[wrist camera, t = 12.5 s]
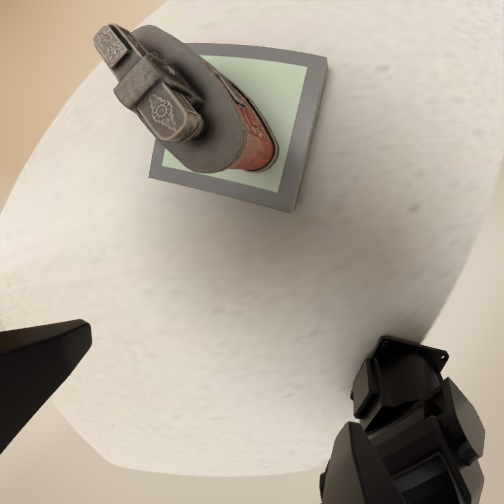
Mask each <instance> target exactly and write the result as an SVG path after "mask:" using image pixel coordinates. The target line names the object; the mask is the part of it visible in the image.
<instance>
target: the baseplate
mask: <svg viewBox="0 0 504 504" xmlns="http://www.w3.org/2000/svg"><path fill="white" fill-rule="evenodd" d="M184 44H185V45H186V46H188V47H189V48H190V49H191V50H192V51H193V52H194V53H196V54H197V55H199V56H201V57H202V58H203V59H205V60H206V61H207V62H209V63H210V64H211V65H212V66H213V67H214V68H215V69H216V70H217V71H219V72H220V73H222V74H223V75H224V76H226V77H227V78H229V79H230V80H231V81H232V82H234V83H235V84H236V85H237V86H238V87H239V88H240V89H241V90H242V91H243V92H244V93H245V94H246V95H247V96H248V97H249V98H250V99H251V100H252V101H253V102H254V104H255V105H256V106H257V108H258V109H259V111H260V112H261V113H262V115H263V116H264V118H265V119H266V120H267V122H268V124H269V126H270V128H271V130H272V132H273V134H274V136H275V138H276V140H277V142H278V144H279V148H280V151H279V157H278V159H277V161H276V163H275V164H274V165H273V166H272V167H271V168H269V169H268V170H266V171H264V172H259V173H249V172H245V171H243V170H241V169H226V170H224V171H221V172H217V173H210V174H204V173H196V172H193V171H191V170H190V169H188V168H186V167H185V166H184V165H183V164H182V163H181V162H180V161H179V160H178V159H177V158H175V157H174V156H173V155H172V154H171V153H170V152H169V151H168V150H167V149H166V148H165V147H164V146H163V145H161V144H160V143H159V141H158V140H157V139H156V140H155V145H154V150H153V155H152V161H151V166H150V172H149V178H153V179H157V180H162V181H166V182H170V183H175V184H179V185H183V186H187V187H192V188H196V189H200V190H204V191H208V192H212V193H216V194H220V195H224V196H228V197H232V198H236V199H240V200H243V201H247V202H251V203H255V204H258V205H262V206H266V207H270V208H273V209H277V210H280V211H284V212H288V213H291V212H292V211H293V210H294V208H295V204H296V200H297V196H298V192H299V188H300V184H301V180H302V176H303V172H304V168H305V164H306V160H307V156H308V152H309V148H310V144H311V140H312V135H313V131H314V127H315V123H316V118H317V114H318V110H319V105H320V101H321V96H322V92H323V88H324V83H325V78H326V74H327V69H328V65H327V57H323V56H318V55H313V54H307V53H302V52H296V51H289V50H283V49H275V48H267V47H258V46H248V45H234V44H213V43H184Z"/></svg>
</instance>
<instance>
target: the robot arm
mask: <svg viewBox="0 0 504 504" xmlns="http://www.w3.org/2000/svg"><path fill="white" fill-rule="evenodd" d="M385 341H387V343H386V344H382V343H383V342H385ZM91 345H92V334H91V326H90V324H89V323H88V322H86V321H84V320H82V319H77V320H71V321H66V322H60V323H54V324H48V325H41V326H35V327H29V328H22V329H16V330H9V331H2V332H0V454H1V453H2V452H3V451H4V449H5V448H6V447H7V446H8V445H9V443H10V442H11V441H12V440H13V438H14V437H15V436H16V435H17V434H18V433H19V432H20V430H21V429H22V428H23V427H24V426H25V425H26V423H27V422H28V421H29V420H30V419H31V418H32V417H33V415H34V414H35V413H36V412H37V411H38V410H39V409H40V408H41V406H42V405H43V404H44V403H45V402H46V401H47V400H48V399H49V397H50V396H51V395H52V394H53V393H54V392H55V391H56V390H57V389H58V388H59V386H60V385H61V384H62V383H63V382H64V381H65V380H66V379H67V378H68V376H69V375H70V374H71V373H72V371H73V370H74V369H75V367H76V366H77V365H78V363H79V362H80V361H81V359H82V358H83V357H84V355H85V354H86V353H87V351H88V350H89V349H90V347H91ZM442 356H444V358H441V357H442ZM448 358H449V355H448V353H447V352H446V351H444V350H440V349H436V348H432V347H428V346H424V345H420V344H416V343H412V342H409V341H405V340H401V339H397V338H394V337H390V336H382V337H381V338H380V339H379V341H378V343H377V345H376V347H375V349H374V351H373V353H372V355H371V356H370V358H367V359H366V360H365V361H364V363H363V365H362V367H361V369H360V371H359V373H358V375H357V376H356V378H355V380H354V382H353V389H352V391H351V393H350V398H351V399H352V400H353V401H354V417H355V418H356V419H360V424H359V423H356V422H351V421H349V422H347V423H346V424H345V425H344V427H343V428H342V429H341V431H340V432H339V434H338V435H337V437H336V439H335V442H334V446H333V450H332V455H331V458H330V459H329V462H328V465H327V467H326V470H325V472H324V473H322V474H321V475H320V484H319V489H320V495H321V500H322V503H321V504H479V500H480V496H481V492H482V488H483V484H484V476H483V473H482V471H481V468H480V465H479V463H478V460H477V459H479V458H480V457H482V455H483V449H484V439H485V429H484V427H483V425H482V422H481V420H480V419H479V416H478V414H477V412H476V410H475V408H474V407H473V405H472V404H471V403H470V402H469V401H468V399H467V398H466V397H465V396H464V395H463V393H462V392H461V391H460V390H459V389H458V387H457V386H456V385H455V384H454V383H453V381H452V380H451V379H450V378H449V377H447V378H446V379H445V380H443V378H442V376H441V373H440V372H441V371H442V369H443V367H444V365H445V364H446V362H447V361H448Z"/></svg>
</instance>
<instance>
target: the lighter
mask: <svg viewBox="0 0 504 504" xmlns="http://www.w3.org/2000/svg"><path fill="white" fill-rule="evenodd" d="M93 41H94V46H95V48H96V50H97V51H98V53H99V54H100V55H101V57H102V59H103V60H104V61H105V63H106V64H107V66H108V67H109V69H110V70H111V72H112V73H113V74H114V76H115V77H116V79H117V80H118V82H119V84H118V85H117V86H116V87H115V88H114V94H115V95H116V97H117V98H118V100H119V101H120V102H121V103H122V104H123V105H124V106H125V107H127V108H128V109H130V110H131V111H133V112H134V113H135V114H137V115H138V117H139V118H140V120H141V121H142V122H143V123H144V124H145V126H146V127H147V128H148V129H149V130H150V132H151V133H152V134H153V135H154V136H155V138H156V139H157V140H158V141H159V143H160V144H161V145H163V146H164V147H165V148H166V149H167V150H168V151H169V152H170V153H171V154H172V155H173V156H174V157H175V158H177V159H178V160H179V161H180V162H181V163H182V164H183V165H184V166H185V167H186V168H188V169H190V170H191V171H193V172H196V173H204V174H210V173H217V172H221V171H224V170H226V169H241V170H243V171H245V172H249V173H259V172H264V171H266V170H268V169H269V168H271V167H272V166H273V165H274V164H275V163H276V161H277V159H278V157H279V151H280V148H279V144H278V142H277V140H276V138H275V136H274V134H273V132H272V130H271V128H270V126H269V124H268V122H267V120H266V119H265V118H264V116H263V115H262V113H261V112H260V111H259V109H258V108H257V106H256V105H255V104H254V102H253V101H252V100H251V99H250V98H249V97H248V96H247V95H246V94H245V93H244V92H243V91H242V90H241V89H240V88H239V87H238V86H237V85H236V84H235V83H234V82H232V81H231V80H230V79H229V78H227V77H226V76H224V75H223V74H222V73H220V72H219V71H217V70H216V69H215V68H214V67H213V66H212V65H211V64H210V63H209V62H207V61H206V60H205V59H203V58H202V57H201V56H199V55H197V54H196V53H194V52H193V51H192V50H191V49H190V48H189V47H188V46H186V45H185V44H184V43H182V42H181V41H180V40H178V39H177V38H175V37H173V36H172V35H170V34H168V33H167V32H165V31H163V30H161V29H160V28H158V27H156V26H152V25H146V26H142V27H140V28H138V29H136V30H134V31H133V32H131V33H130V32H129V31H128V30H126V29H124V28H122V27H120V26H118V25H116V24H114V23H109V24H107V25H104V26H103V27H102V28H101V29H100V30H99V31H98V32H97V33H96V35H95V36H94V38H93Z"/></svg>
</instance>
